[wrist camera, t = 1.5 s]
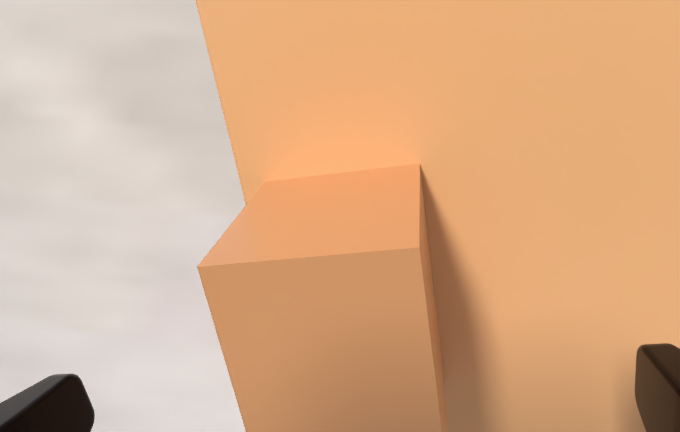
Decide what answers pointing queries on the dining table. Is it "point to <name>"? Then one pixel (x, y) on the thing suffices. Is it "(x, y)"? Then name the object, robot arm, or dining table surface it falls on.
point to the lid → (446, 211)
